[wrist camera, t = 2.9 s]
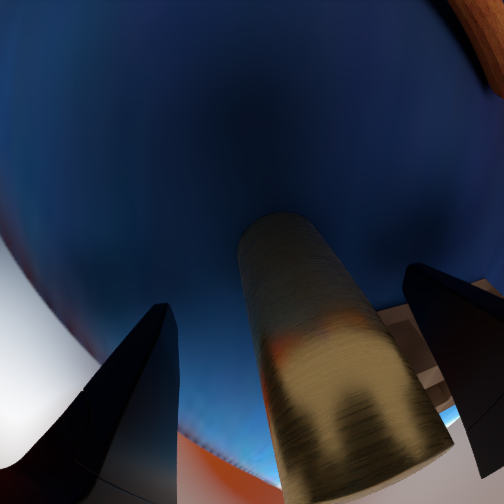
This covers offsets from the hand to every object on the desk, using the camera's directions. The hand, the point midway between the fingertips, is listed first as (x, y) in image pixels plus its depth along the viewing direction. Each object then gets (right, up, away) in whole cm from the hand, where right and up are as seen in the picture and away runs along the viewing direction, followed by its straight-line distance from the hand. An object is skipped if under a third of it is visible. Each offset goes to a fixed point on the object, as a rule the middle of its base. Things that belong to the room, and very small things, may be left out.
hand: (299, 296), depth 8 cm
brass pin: (0, +1, +2) cm, 2 cm away
